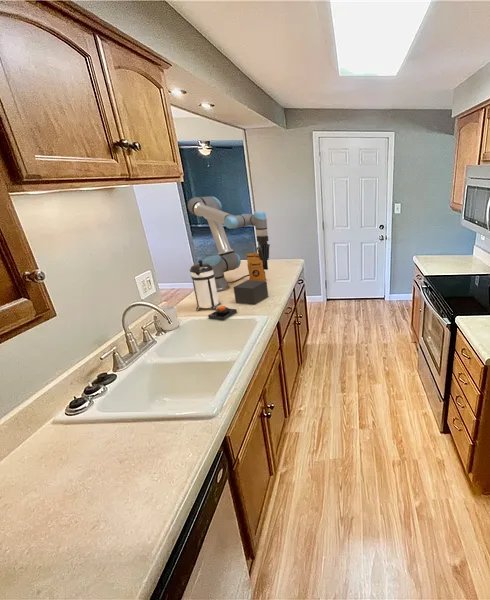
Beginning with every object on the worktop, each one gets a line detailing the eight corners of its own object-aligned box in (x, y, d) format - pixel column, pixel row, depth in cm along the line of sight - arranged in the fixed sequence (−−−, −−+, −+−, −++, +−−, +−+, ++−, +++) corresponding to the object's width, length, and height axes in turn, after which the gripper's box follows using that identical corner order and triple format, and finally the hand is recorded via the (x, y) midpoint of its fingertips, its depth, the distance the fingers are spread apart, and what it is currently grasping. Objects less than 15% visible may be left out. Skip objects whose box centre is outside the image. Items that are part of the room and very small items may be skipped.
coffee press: (227, 306, 204) (220, 259, 194) (201, 314, 193) (191, 264, 183) (215, 300, 216) (207, 255, 205) (190, 306, 205) (180, 259, 194)
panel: (222, 311, 198) (221, 304, 196) (236, 312, 195) (236, 306, 194) (208, 318, 187) (207, 312, 185) (223, 320, 184) (222, 314, 183)
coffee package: (264, 282, 251) (261, 254, 244) (248, 283, 250) (244, 254, 243) (267, 278, 261) (264, 251, 253) (251, 279, 260) (247, 252, 252)
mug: (173, 331, 171) (169, 311, 168) (156, 331, 172) (151, 311, 168) (185, 322, 183) (181, 303, 179) (169, 322, 183) (165, 303, 179)
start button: (221, 308, 192) (221, 305, 192) (227, 309, 191) (226, 306, 191) (216, 310, 188) (216, 308, 188) (222, 311, 188) (222, 308, 187)
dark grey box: (250, 294, 225) (248, 279, 221) (268, 296, 222) (266, 281, 218) (235, 302, 211) (233, 286, 207) (254, 304, 207) (252, 288, 204)
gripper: (261, 237, 214) (265, 272, 222) (272, 234, 226) (275, 267, 234) (251, 236, 216) (255, 271, 224) (262, 233, 227) (265, 266, 236)
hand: (265, 269), depth 229 cm, fingers closed
